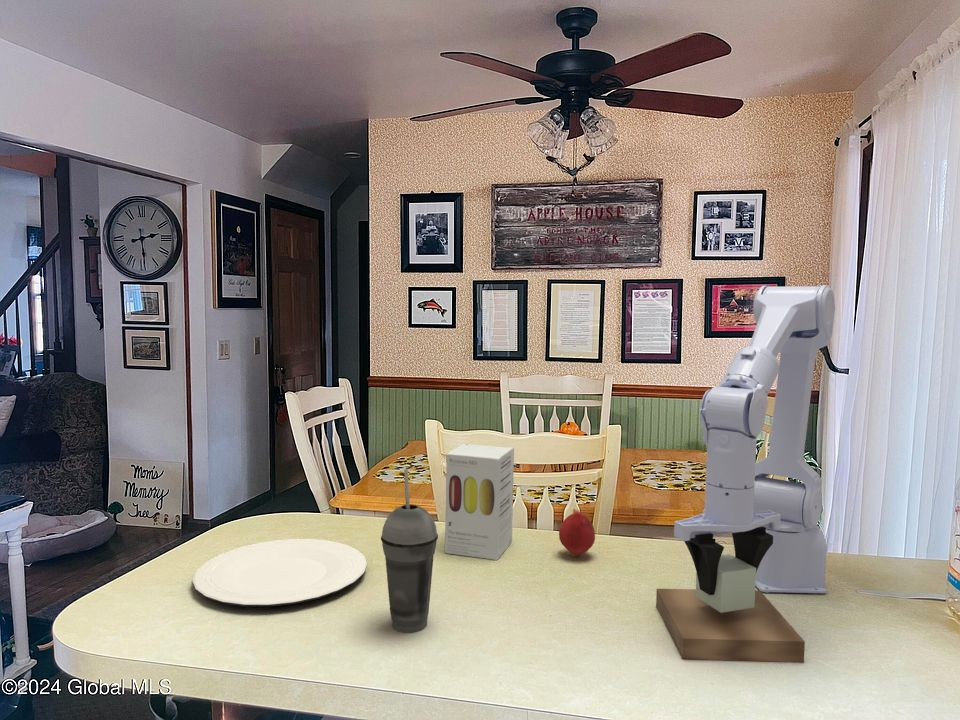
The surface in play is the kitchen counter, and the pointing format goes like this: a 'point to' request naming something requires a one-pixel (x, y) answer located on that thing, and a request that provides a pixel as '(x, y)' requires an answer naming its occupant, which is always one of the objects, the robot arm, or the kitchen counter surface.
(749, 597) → the sage block
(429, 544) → the beverage cup
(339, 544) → the plate
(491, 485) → the supplement box
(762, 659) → the walnut base
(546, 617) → the kitchen counter surface
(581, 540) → the onion
